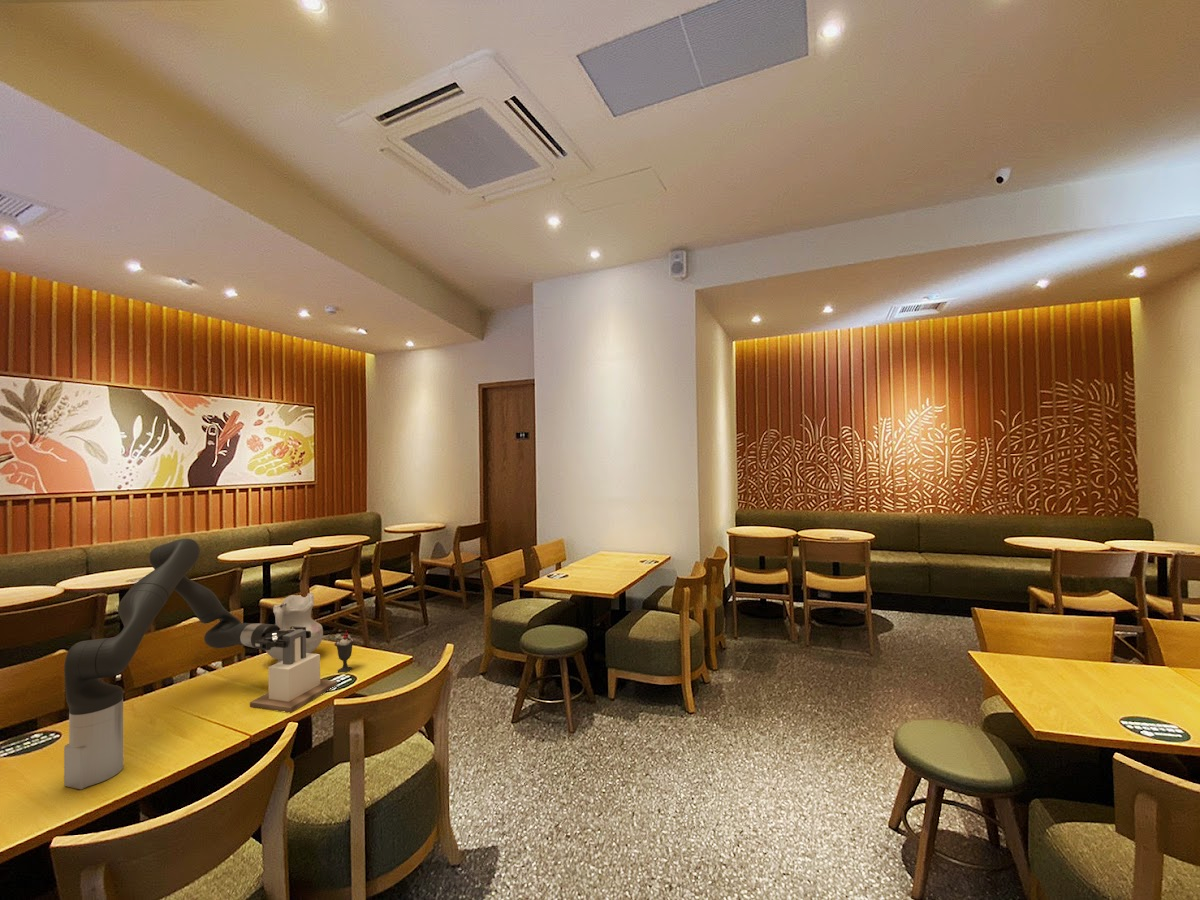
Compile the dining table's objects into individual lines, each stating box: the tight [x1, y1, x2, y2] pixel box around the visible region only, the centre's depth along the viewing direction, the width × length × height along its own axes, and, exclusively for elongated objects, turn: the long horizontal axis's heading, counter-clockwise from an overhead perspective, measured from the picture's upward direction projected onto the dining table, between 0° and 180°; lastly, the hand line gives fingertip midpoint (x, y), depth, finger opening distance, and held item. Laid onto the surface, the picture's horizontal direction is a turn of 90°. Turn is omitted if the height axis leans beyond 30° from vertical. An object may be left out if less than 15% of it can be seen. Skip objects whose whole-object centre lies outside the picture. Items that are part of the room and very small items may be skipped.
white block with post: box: [268, 637, 321, 702], centre depth 158 cm, size 12×8×18 cm, turn 165°
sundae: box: [333, 629, 356, 673], centre depth 177 cm, size 7×7×15 cm
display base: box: [249, 678, 338, 714], centre depth 157 cm, size 18×16×2 cm
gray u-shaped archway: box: [283, 629, 306, 665], centre depth 158 cm, size 6×3×9 cm, turn 164°
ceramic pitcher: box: [264, 592, 324, 664], centre depth 186 cm, size 22×20×25 cm
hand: (299, 639), depth 157 cm, fingers open, 8 cm apart
